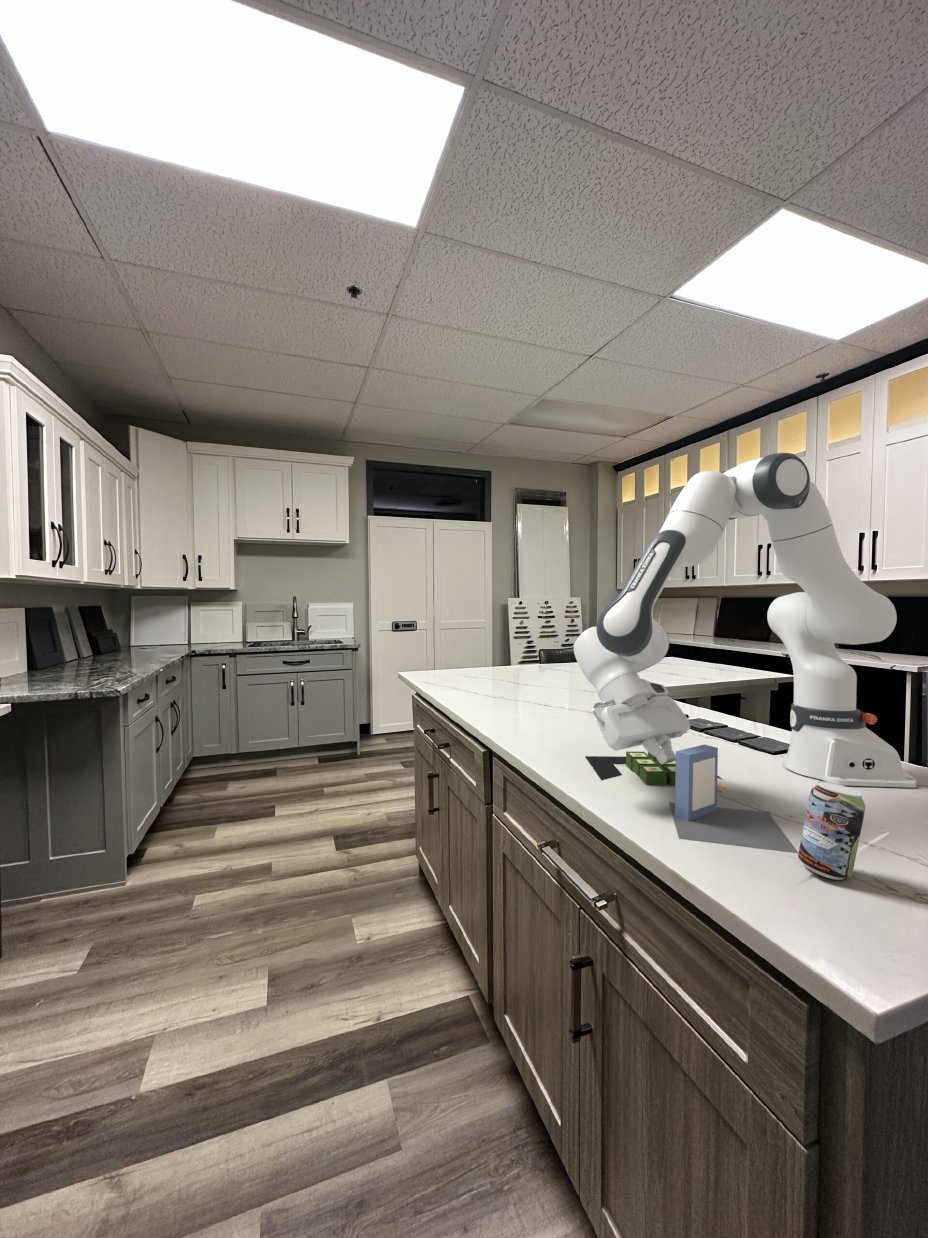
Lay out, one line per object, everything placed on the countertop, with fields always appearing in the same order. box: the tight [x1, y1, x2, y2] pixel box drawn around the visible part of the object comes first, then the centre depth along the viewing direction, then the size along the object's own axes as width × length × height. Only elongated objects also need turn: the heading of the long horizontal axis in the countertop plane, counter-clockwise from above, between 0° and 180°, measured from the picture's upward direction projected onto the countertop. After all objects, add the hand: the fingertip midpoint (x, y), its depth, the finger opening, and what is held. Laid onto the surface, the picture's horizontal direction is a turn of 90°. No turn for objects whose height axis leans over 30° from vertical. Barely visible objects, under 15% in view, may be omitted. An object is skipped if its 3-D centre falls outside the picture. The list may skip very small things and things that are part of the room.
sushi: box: [585, 751, 727, 790], centre depth 108 cm, size 25×25×4 cm
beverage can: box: [797, 780, 866, 881], centre depth 68 cm, size 6×7×12 cm
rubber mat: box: [668, 801, 799, 854], centre depth 83 cm, size 16×15×1 cm
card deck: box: [674, 744, 719, 821], centre depth 87 cm, size 3×8×11 cm, turn 122°
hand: (669, 761), depth 92 cm, fingers closed
